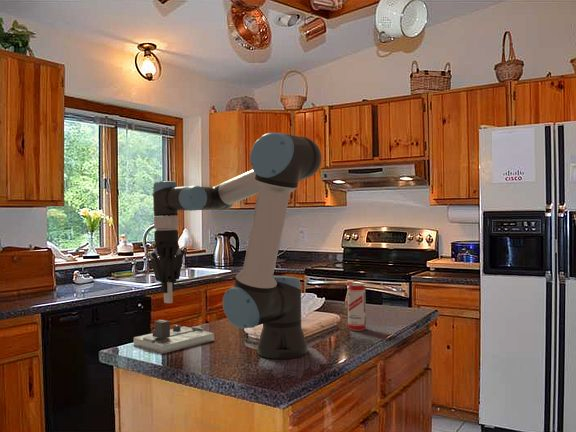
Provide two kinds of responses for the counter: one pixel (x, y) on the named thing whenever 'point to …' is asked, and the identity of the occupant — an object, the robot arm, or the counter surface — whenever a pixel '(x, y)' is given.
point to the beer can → (356, 307)
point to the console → (174, 339)
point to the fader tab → (162, 329)
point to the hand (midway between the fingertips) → (168, 302)
